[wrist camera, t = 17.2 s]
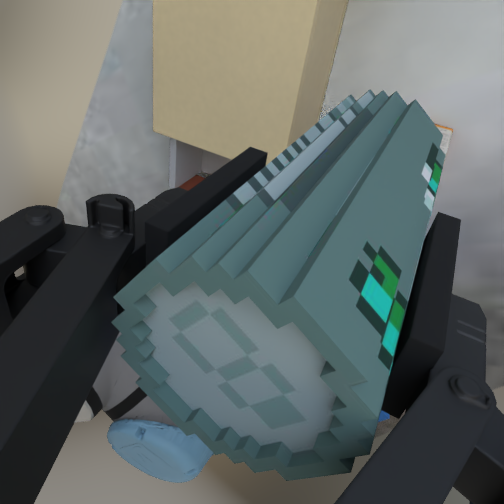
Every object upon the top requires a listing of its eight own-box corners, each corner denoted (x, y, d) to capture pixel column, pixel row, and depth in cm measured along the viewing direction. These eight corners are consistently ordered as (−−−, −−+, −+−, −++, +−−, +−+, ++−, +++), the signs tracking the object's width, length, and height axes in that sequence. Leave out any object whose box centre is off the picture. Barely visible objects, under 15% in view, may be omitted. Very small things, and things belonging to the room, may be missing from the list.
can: (363, 233, 23) (236, 487, 11) (291, 147, 22) (81, 326, 11) (469, 170, 19) (438, 461, 8) (387, 62, 18) (214, 205, 7)
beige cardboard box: (312, 147, 44) (280, 177, 38) (198, 109, 48) (152, 131, 42) (355, -27, 35) (323, -26, 28) (209, -57, 39) (152, -62, 32)
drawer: (278, 256, 53) (255, 286, 48) (191, 219, 56) (161, 244, 51) (316, 94, 40) (290, 112, 35) (202, 60, 44) (163, 72, 39)
